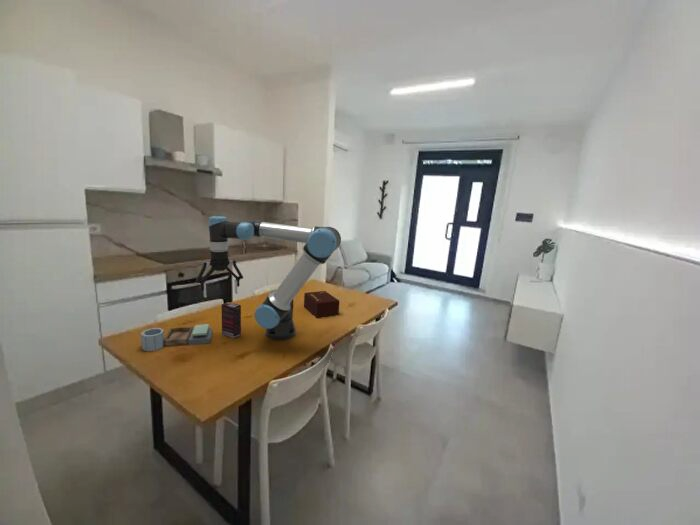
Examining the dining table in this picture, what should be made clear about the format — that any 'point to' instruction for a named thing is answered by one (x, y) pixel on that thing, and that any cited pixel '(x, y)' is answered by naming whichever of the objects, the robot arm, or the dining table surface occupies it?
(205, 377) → the dining table surface
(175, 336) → the brown wooden tray
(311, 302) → the box
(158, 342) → the cup
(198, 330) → the mint green block
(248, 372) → the dining table surface
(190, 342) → the blue-grey rectangular tray
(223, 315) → the supplement box
